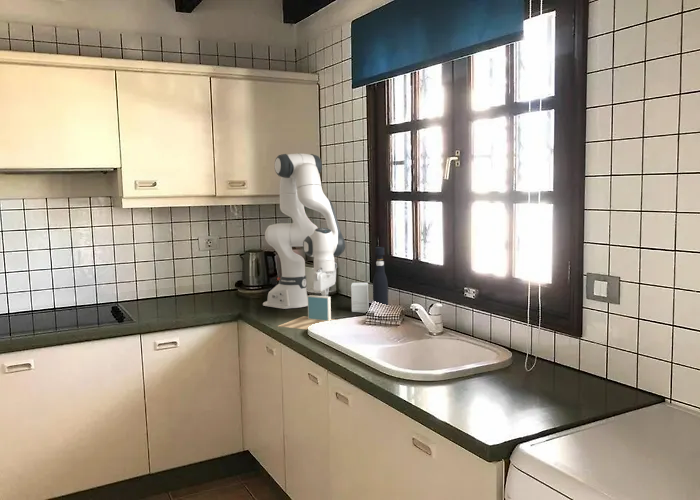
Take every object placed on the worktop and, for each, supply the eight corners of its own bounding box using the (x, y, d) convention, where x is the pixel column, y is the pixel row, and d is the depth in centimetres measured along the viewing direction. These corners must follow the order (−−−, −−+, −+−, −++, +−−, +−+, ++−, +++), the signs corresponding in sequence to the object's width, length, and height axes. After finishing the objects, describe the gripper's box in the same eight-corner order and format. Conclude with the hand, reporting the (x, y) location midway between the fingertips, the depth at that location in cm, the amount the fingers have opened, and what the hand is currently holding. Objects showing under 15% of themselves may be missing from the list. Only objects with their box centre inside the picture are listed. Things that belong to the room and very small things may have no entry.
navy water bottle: (390, 315, 281) (389, 246, 277) (384, 318, 275) (383, 248, 271) (376, 314, 283) (375, 246, 280) (371, 317, 277) (369, 247, 274)
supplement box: (369, 309, 294) (368, 282, 292) (367, 313, 286) (367, 285, 285) (352, 309, 294) (352, 282, 293) (351, 313, 287) (350, 285, 286)
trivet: (277, 327, 262) (276, 326, 262) (303, 317, 280) (303, 316, 280) (319, 332, 253) (319, 330, 253) (343, 321, 270) (343, 320, 270)
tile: (307, 319, 274) (307, 295, 273) (310, 318, 276) (310, 295, 275) (328, 321, 269) (327, 297, 268) (331, 320, 271) (330, 296, 270)
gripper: (323, 270, 263) (324, 303, 265) (338, 263, 283) (338, 294, 284) (309, 269, 265) (309, 303, 267) (324, 263, 285) (325, 294, 286)
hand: (325, 298), depth 276 cm, fingers closed
